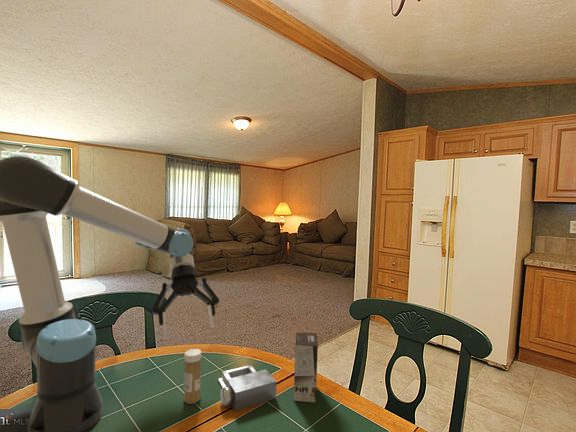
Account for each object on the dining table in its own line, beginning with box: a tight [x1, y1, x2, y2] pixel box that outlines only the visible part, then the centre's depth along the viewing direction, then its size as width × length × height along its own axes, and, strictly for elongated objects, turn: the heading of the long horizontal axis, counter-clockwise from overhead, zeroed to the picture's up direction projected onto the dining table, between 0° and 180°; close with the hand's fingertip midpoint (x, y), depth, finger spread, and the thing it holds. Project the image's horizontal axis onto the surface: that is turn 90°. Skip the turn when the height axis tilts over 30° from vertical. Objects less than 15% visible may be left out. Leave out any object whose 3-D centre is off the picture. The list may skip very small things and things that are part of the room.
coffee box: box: [293, 331, 319, 403], centre depth 91 cm, size 9×6×16 cm
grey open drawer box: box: [217, 364, 277, 412], centre depth 91 cm, size 14×16×5 cm
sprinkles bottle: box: [183, 348, 202, 405], centre depth 86 cm, size 5×5×14 cm
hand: (189, 330), depth 95 cm, fingers open, 13 cm apart
